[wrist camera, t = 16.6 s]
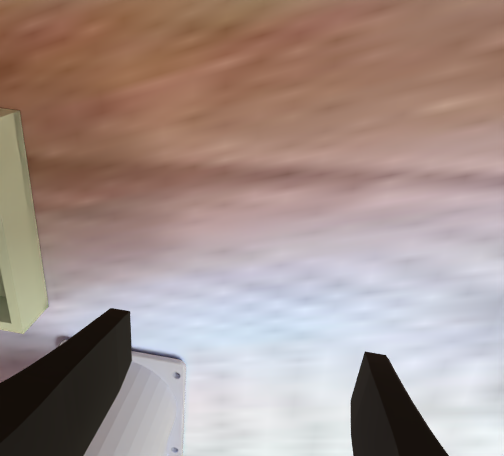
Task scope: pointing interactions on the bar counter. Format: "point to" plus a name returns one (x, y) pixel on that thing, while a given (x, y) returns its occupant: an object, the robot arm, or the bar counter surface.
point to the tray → (18, 233)
